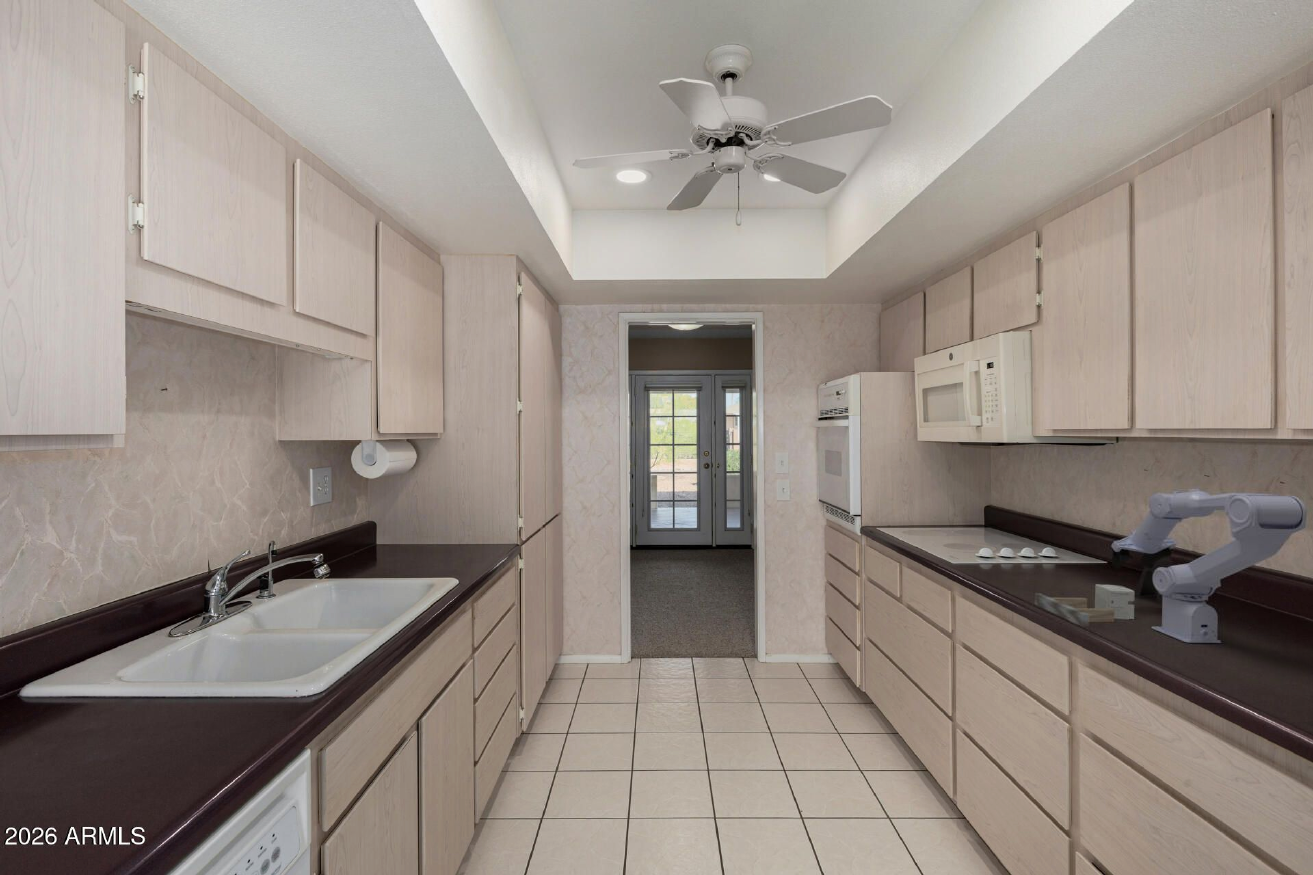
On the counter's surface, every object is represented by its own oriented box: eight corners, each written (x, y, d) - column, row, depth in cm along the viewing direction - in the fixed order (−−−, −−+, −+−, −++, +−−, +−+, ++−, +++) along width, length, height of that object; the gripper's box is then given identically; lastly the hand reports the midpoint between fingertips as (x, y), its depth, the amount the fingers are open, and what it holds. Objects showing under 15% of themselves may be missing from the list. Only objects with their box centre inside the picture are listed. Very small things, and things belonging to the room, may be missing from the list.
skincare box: (1108, 618, 147) (1108, 589, 147) (1094, 611, 153) (1094, 583, 153) (1134, 620, 146) (1135, 591, 146) (1119, 612, 152) (1120, 584, 152)
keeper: (1126, 627, 141) (1126, 614, 141) (1082, 626, 141) (1082, 614, 141) (1073, 604, 159) (1073, 593, 159) (1034, 604, 159) (1034, 593, 159)
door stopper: (1183, 604, 159) (1184, 561, 159) (1164, 605, 158) (1165, 561, 158) (1150, 595, 168) (1151, 554, 168) (1132, 596, 167) (1133, 554, 167)
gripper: (1172, 516, 148) (1147, 551, 156) (1113, 520, 148) (1092, 554, 157) (1192, 538, 142) (1165, 572, 151) (1131, 542, 143) (1108, 575, 152)
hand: (1129, 564), depth 154 cm, fingers open, 7 cm apart
